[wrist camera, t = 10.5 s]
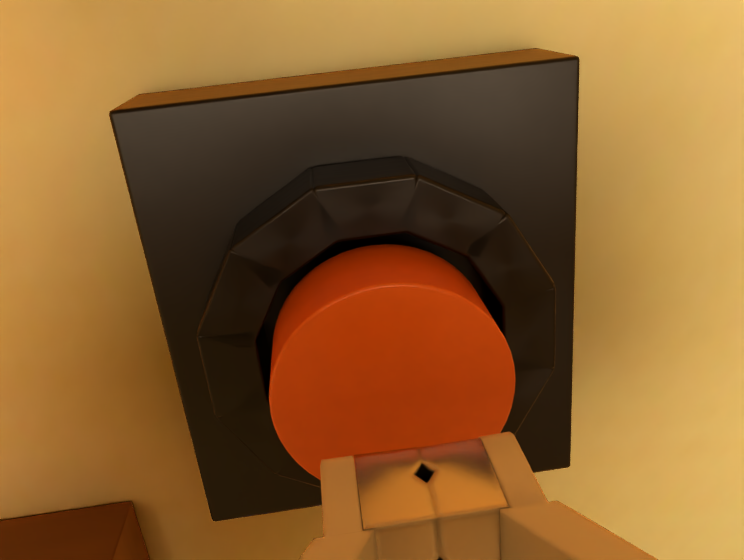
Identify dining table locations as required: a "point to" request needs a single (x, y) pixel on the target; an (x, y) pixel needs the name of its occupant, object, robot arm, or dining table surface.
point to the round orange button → (385, 358)
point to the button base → (353, 231)
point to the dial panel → (75, 535)
